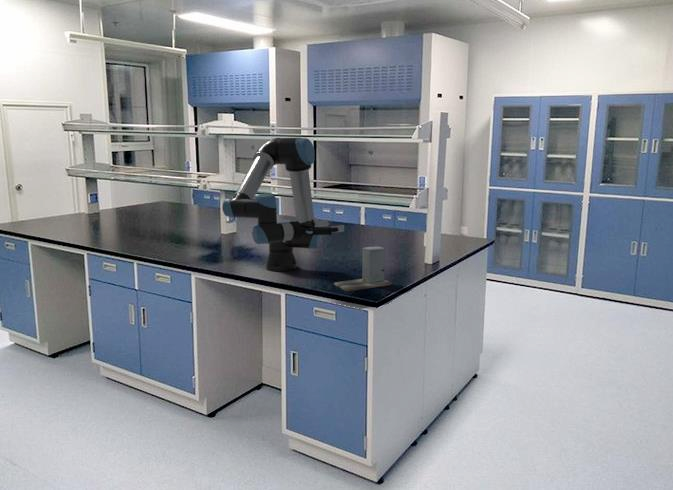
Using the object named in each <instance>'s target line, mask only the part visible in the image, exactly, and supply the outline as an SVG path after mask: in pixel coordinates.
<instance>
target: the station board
mask: <svg viewBox="0 0 673 490" xmlns="http://www.w3.org/2000/svg"><path fill="white" fill-rule="evenodd" d="M333 285H334V286H336V287H337V288H339V289H341V290H344V291H345V292H353V291H354V292H355V291H360V290H367V289H372V288H378V287H384V286H385V287H386V286H390V285H392V281H389V280H386V279H384V281H378V282H373V283H368V282H366V281H363V280H362V278H357V279H350V280H343V281H337V282H336V281H335V282H333Z"/></svg>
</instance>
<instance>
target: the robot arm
mask: <svg viewBox="0 0 673 490" xmlns="http://www.w3.org/2000/svg"><path fill="white" fill-rule="evenodd" d="M315 152H316V151H315V148H314V144H313V143H312V141H311V139H309V138H306V137H275V138H271V139H269V140H267V141H266V142H264V143H263V144H262V145H261V146H260V147H259V148H258V149H257V150H256V152H255V153H254V155H253V158H252V159H253V160H252V161H253V162H252V164H251V165H250V167H249V168H248V171H247V172H246V174H245V176H244V178H243V180H242V181H241V183H240V185H239V186H238V188H237V190H236V192H235V193H234V195H233V197H228V198H225V199H224V200H223V202H222V206H221V207H222V212H223V216H226V217H228V218H241V219H243V218H245V219H246V218H247V219H248V218H249V219H257V225H254V226H253V228H252V231H251V233H252V239H253V241H254V243H255V244H257V245H264V244H265V245H268V255H267V259H266V262H265V269H266V270H268V271H272V272H287V271H292V270H295V269H297V268H298V262H297V260H296V257H295V254H294V249H308V250H310V249H312V250H313V249H314V250H315V249H318V248H319V247H321V244H322V241H323V237H324V236H327V235H328V236H329V237H330V236H332V234H335V233H337V234H338V233H343V232H345V224H338V225H331V226H329V224H330V223H329V219H322V220H318V218H316V217H315V214H314V213H315V212H314V206H313V205H314V203H313V197H312V189H311V180H310V179H311V178H310V173H309V172H310V171H309V170H310V169H311V168H312V165H313V164H314V163H315V160H316V158H315V155H316V154H315ZM275 165H285V170H286V171H287V172H288V173H289V177H290V184H291V193H292V198H293V207H294V215H295V220H294V221H293V220H292V219H283V220H278V215H277V213H278V211H277V207H278V206H277V197H276V196H275V194H272V193H262V194H258V195H257V193H258V192H259V189H260V188H261V185H262V184H263V181H264V180H265V179H266V177H267V176H266V175H267V174H268V173H269V171H270V170H272V169H273V168H274V166H275ZM255 197H256V198H255Z"/></svg>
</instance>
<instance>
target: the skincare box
mask: <svg viewBox="0 0 673 490" xmlns="http://www.w3.org/2000/svg"><path fill="white" fill-rule="evenodd" d="M361 259H362V265H361V266H362V267H361V268H362V269H361V271H362V272H361V273H362V274H361V275H362V276H361V277H362V278H361V279H362V280H363V281H366V282H368V283H373V282H378V281H384V280H385V247H383V246H382V247H381V246H367V247H362V257H361Z"/></svg>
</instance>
